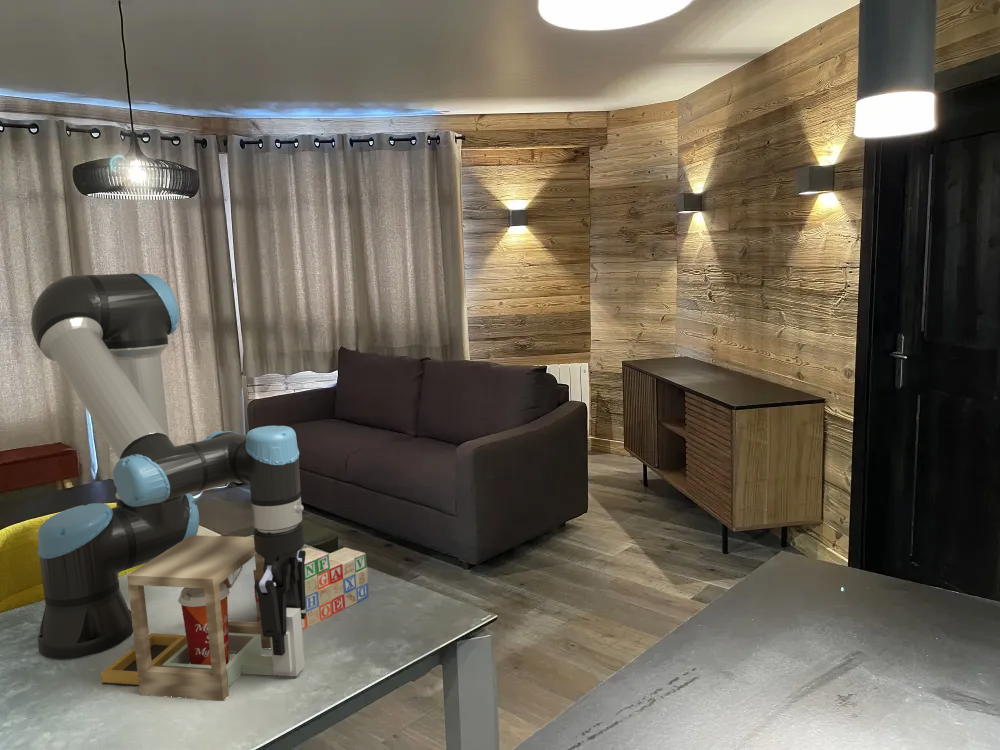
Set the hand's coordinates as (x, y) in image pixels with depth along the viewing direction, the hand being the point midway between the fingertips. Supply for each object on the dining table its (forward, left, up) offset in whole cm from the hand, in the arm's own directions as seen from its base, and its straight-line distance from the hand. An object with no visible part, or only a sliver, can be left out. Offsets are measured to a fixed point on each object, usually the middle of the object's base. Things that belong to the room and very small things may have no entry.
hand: (288, 664), depth 120 cm
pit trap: (-25, 0, -2) cm, 25 cm away
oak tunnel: (-14, 0, -2) cm, 14 cm away
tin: (-29, +34, -2) cm, 45 cm away
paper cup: (-14, 0, -2) cm, 14 cm away
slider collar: (-8, 0, -1) cm, 8 cm away
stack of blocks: (-4, +21, -2) cm, 21 cm away
